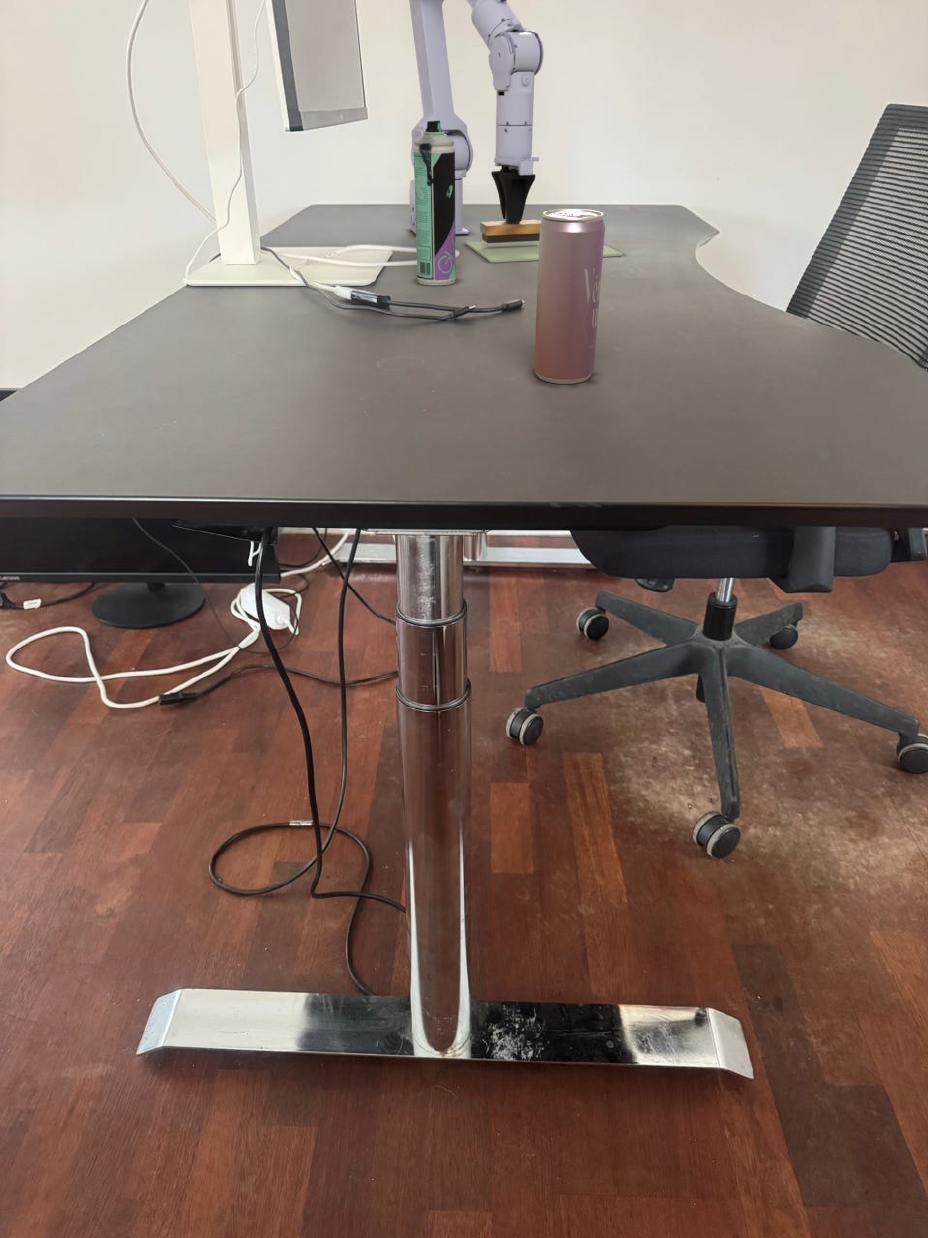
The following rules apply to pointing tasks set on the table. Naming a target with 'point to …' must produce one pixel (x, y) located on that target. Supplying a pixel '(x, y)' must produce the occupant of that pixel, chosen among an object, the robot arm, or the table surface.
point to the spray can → (435, 206)
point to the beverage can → (568, 294)
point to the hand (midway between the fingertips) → (511, 219)
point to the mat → (517, 251)
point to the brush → (510, 231)
